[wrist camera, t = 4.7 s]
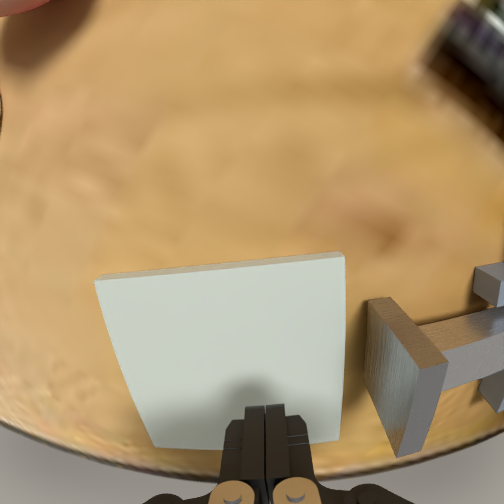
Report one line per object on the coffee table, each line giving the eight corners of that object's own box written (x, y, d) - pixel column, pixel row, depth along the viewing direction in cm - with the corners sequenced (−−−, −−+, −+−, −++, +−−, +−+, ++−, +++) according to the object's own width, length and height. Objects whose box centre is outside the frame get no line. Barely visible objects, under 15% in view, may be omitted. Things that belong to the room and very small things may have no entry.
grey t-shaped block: (368, 300, 14) (420, 369, 8) (501, 275, 14) (567, 314, 8) (363, 380, 16) (396, 458, 10) (487, 347, 15) (537, 397, 9)
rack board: (102, 274, 15) (93, 280, 14) (339, 250, 14) (344, 256, 13) (158, 436, 18) (154, 446, 17) (336, 429, 17) (338, 439, 16)
